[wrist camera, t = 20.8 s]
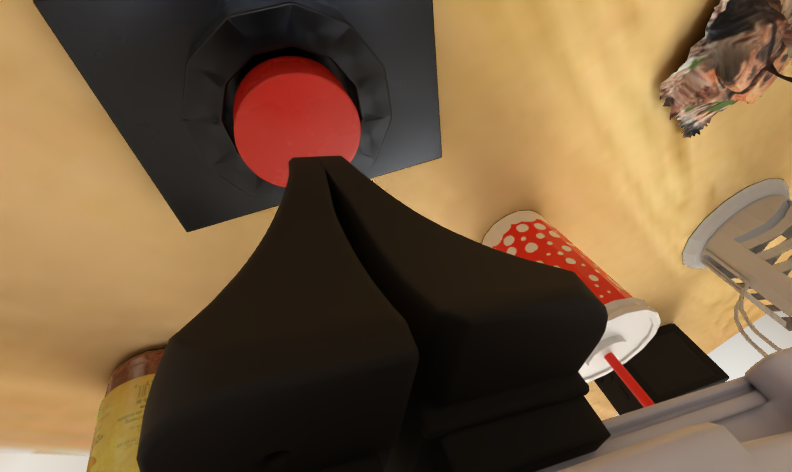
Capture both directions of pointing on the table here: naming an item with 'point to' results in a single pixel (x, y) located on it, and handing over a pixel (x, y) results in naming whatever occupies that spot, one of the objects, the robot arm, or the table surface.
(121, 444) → the sauce bottle
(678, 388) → the digital camera
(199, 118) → the button box
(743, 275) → the french press
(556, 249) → the beverage cup
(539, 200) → the table surface
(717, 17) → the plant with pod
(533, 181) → the table surface
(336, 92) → the button
